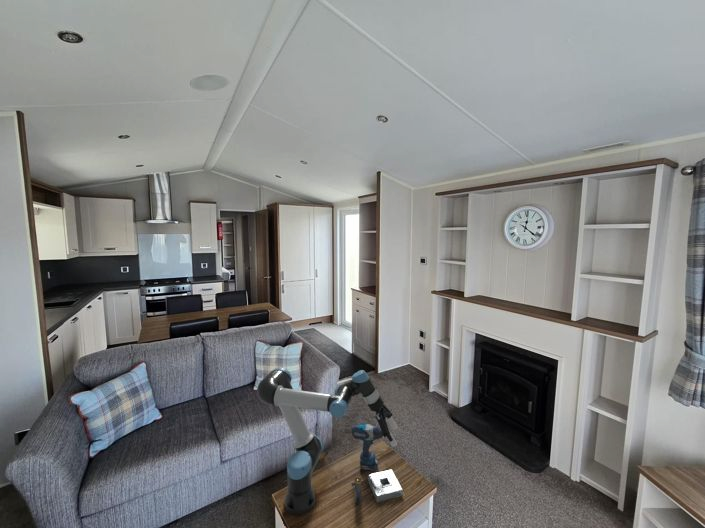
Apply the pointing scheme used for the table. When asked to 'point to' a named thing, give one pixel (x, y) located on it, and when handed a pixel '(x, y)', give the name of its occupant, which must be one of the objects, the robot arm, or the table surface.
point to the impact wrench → (367, 444)
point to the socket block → (387, 490)
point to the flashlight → (358, 489)
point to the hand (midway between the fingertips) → (395, 437)
